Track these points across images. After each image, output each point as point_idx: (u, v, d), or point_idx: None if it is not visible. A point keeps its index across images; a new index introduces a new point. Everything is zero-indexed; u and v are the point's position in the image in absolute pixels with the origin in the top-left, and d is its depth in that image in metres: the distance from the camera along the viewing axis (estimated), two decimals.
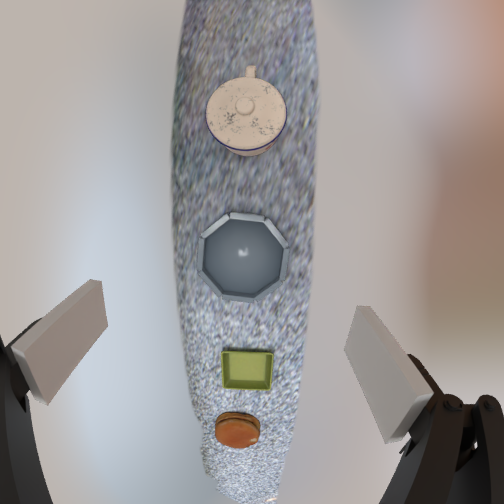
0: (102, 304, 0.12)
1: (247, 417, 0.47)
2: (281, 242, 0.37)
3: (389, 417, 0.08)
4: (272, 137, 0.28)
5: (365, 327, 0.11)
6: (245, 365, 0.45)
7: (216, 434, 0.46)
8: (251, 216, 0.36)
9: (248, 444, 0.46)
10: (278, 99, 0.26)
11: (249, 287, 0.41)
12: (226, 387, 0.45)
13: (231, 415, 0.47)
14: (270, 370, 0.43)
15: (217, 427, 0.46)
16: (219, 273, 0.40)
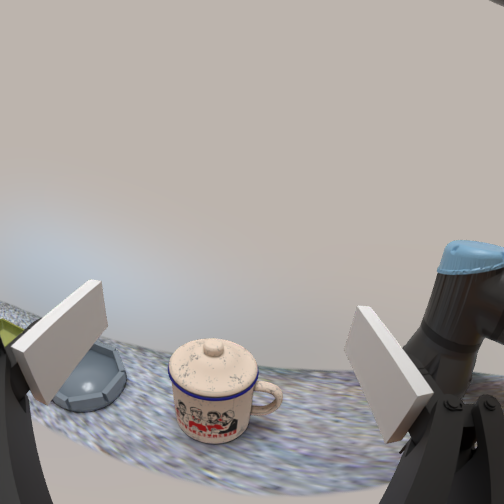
0: (102, 304, 0.12)
1: None
2: (75, 397, 0.23)
3: (389, 417, 0.08)
4: (175, 376, 0.23)
5: (365, 327, 0.11)
6: (3, 341, 0.29)
7: None
8: (112, 385, 0.27)
9: None
10: (222, 387, 0.22)
11: None
12: (0, 320, 0.32)
13: None
14: None
15: None
16: None
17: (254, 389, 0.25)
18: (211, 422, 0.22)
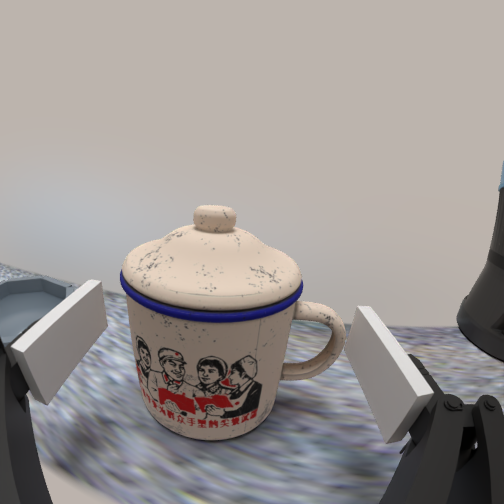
0: (102, 304, 0.12)
1: None
2: None
3: (389, 417, 0.08)
4: (129, 271, 0.11)
5: (365, 327, 0.11)
6: None
7: None
8: None
9: None
10: (234, 286, 0.10)
11: None
12: None
13: None
14: None
15: None
16: (25, 297, 0.21)
17: (295, 316, 0.13)
18: (207, 389, 0.11)
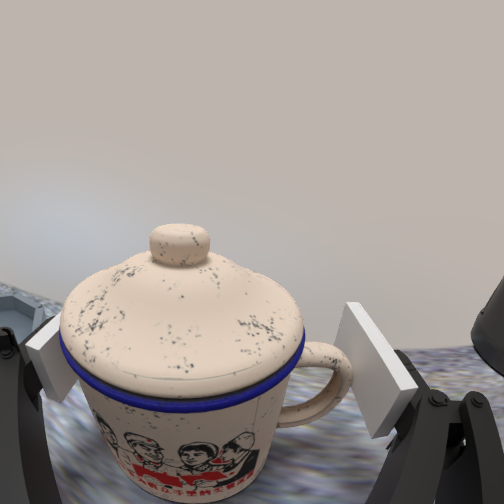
0: None
1: None
2: None
3: (375, 412, 0.08)
4: (67, 333, 0.06)
5: (353, 323, 0.12)
6: None
7: None
8: None
9: None
10: (219, 358, 0.06)
11: None
12: None
13: None
14: None
15: None
16: None
17: None
18: (194, 469, 0.07)
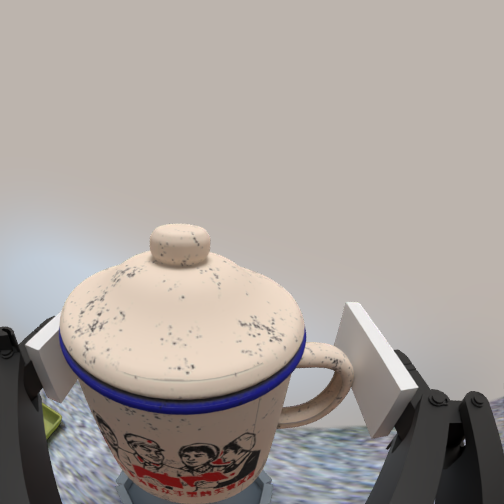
0: None
1: None
2: None
3: (375, 412, 0.08)
4: (67, 333, 0.06)
5: (353, 323, 0.12)
6: None
7: None
8: None
9: None
10: (220, 359, 0.06)
11: (141, 489, 0.15)
12: None
13: None
14: None
15: None
16: None
17: None
18: (195, 470, 0.07)
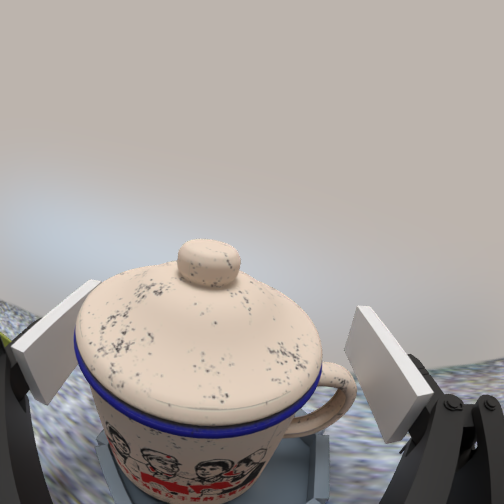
0: None
1: None
2: None
3: (389, 417, 0.08)
4: (87, 350, 0.06)
5: (365, 327, 0.11)
6: None
7: None
8: (325, 472, 0.10)
9: None
10: (252, 388, 0.06)
11: None
12: None
13: None
14: None
15: None
16: None
17: None
18: (205, 480, 0.07)
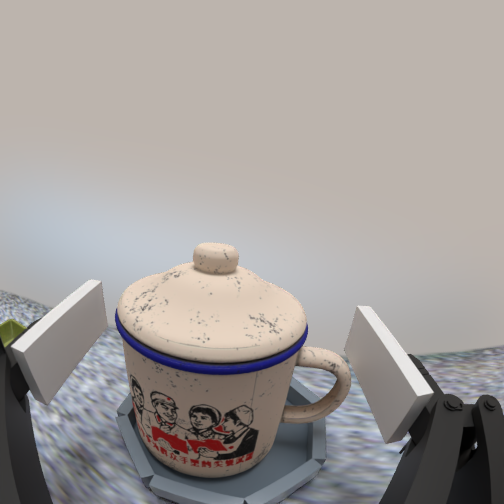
0: (102, 304, 0.12)
1: None
2: (261, 493, 0.09)
3: (389, 417, 0.08)
4: (123, 311, 0.10)
5: (365, 327, 0.11)
6: None
7: None
8: (322, 436, 0.13)
9: None
10: (229, 337, 0.09)
11: None
12: (8, 322, 0.19)
13: None
14: None
15: None
16: None
17: (298, 362, 0.12)
18: (199, 433, 0.09)
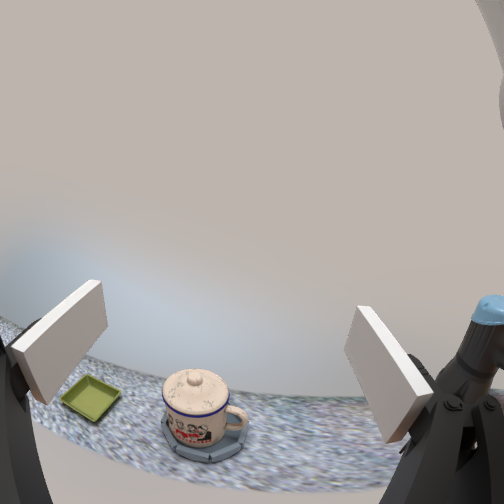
0: (102, 304, 0.12)
1: None
2: (216, 452, 0.29)
3: (389, 417, 0.08)
4: (165, 396, 0.30)
5: (365, 327, 0.11)
6: (94, 401, 0.35)
7: None
8: (244, 434, 0.33)
9: None
10: (197, 408, 0.29)
11: None
12: (85, 376, 0.39)
13: None
14: (78, 410, 0.31)
15: None
16: None
17: (225, 411, 0.31)
18: (191, 431, 0.29)
